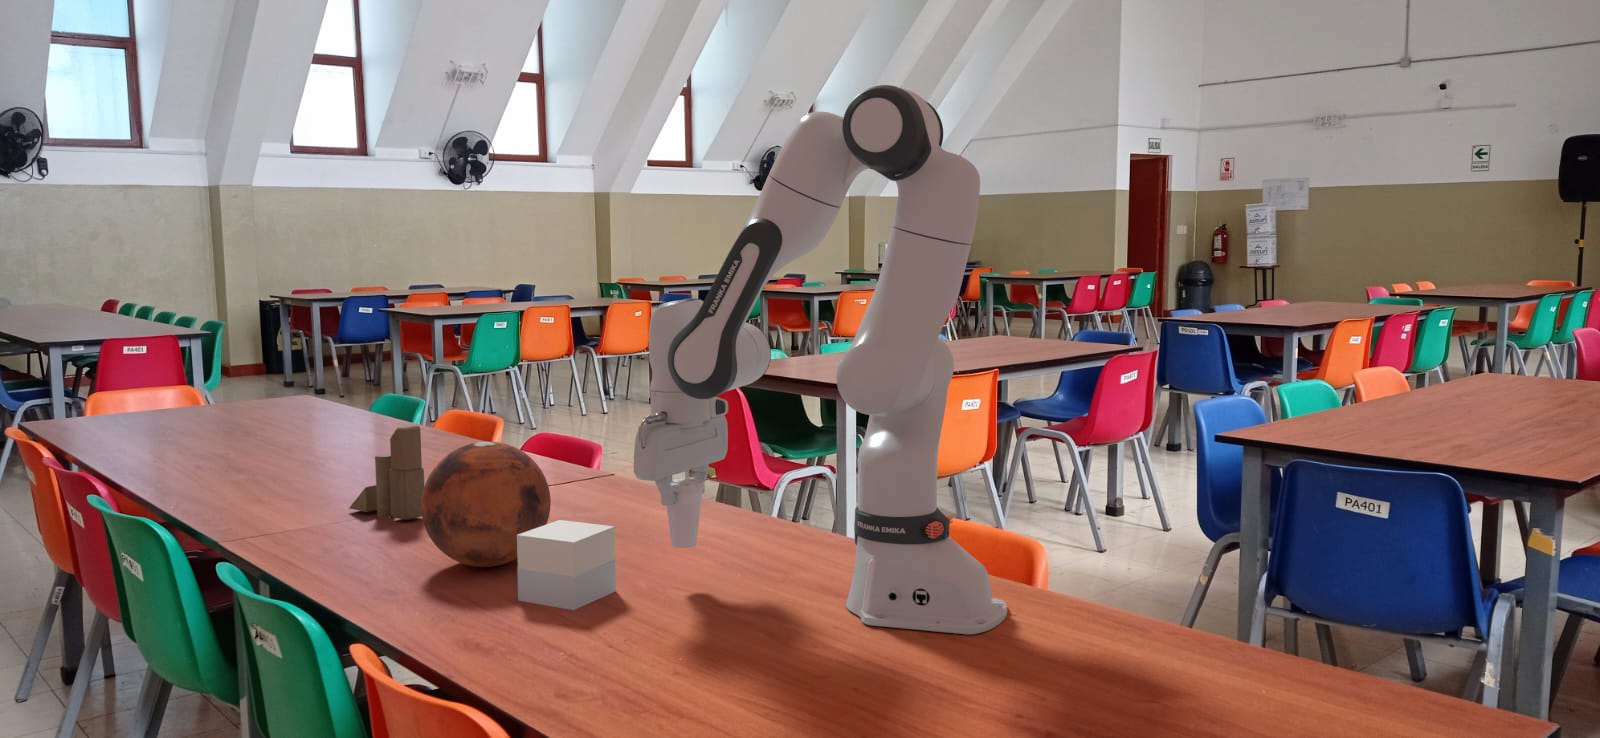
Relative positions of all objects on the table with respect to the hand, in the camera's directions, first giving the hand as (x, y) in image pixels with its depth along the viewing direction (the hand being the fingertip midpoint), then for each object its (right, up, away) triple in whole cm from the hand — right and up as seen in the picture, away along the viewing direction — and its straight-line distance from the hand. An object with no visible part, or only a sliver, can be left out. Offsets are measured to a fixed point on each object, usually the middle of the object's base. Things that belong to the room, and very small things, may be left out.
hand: (683, 499), depth 170 cm
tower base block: (-17, -14, -3) cm, 22 cm away
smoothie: (0, -7, +1) cm, 7 cm away
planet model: (-33, -12, +13) cm, 37 cm away
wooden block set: (-61, -9, +46) cm, 77 cm away
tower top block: (-17, -9, -4) cm, 19 cm away
